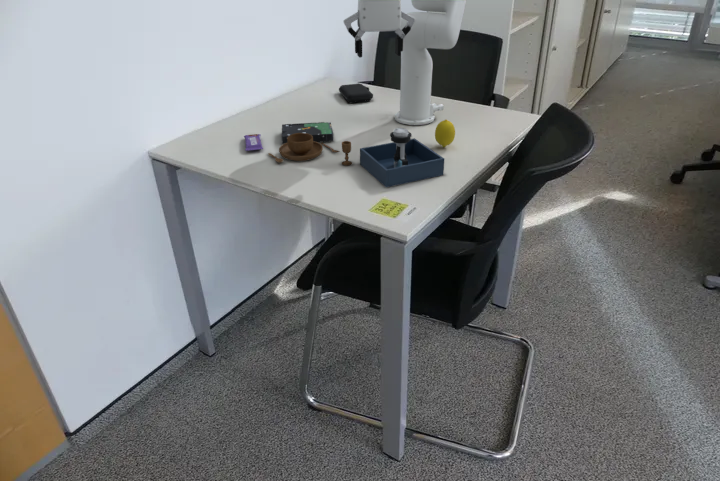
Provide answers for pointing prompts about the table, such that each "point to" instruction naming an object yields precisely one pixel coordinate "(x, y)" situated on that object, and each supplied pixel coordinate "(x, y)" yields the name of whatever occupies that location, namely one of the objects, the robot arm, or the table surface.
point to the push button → (400, 146)
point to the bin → (418, 168)
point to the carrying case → (355, 93)
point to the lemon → (445, 133)
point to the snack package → (253, 142)
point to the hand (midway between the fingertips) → (378, 55)
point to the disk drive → (309, 131)
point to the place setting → (307, 148)
